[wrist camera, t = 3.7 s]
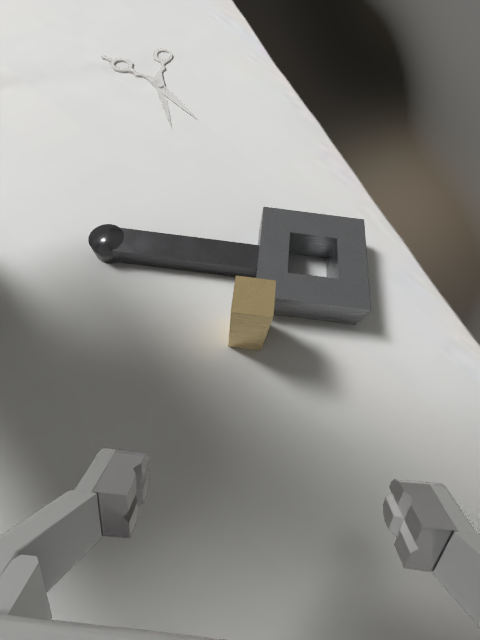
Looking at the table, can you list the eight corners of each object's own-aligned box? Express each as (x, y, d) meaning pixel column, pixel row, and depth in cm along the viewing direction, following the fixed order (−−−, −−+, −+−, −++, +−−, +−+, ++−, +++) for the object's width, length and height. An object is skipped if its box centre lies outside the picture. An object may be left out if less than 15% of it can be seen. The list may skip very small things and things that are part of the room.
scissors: (163, 42, 50) (218, 112, 44) (164, 48, 51) (218, 117, 44) (100, 55, 48) (148, 132, 41) (102, 61, 49) (150, 137, 42)
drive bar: (260, 350, 30) (273, 317, 23) (228, 346, 30) (231, 311, 23) (262, 320, 31) (276, 280, 24) (232, 317, 31) (235, 275, 24)
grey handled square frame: (355, 324, 32) (370, 310, 29) (80, 290, 31) (64, 272, 28) (351, 240, 36) (364, 219, 33) (110, 209, 36) (99, 185, 33)
